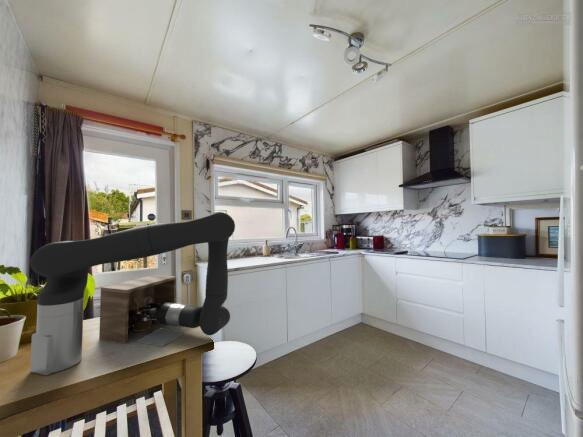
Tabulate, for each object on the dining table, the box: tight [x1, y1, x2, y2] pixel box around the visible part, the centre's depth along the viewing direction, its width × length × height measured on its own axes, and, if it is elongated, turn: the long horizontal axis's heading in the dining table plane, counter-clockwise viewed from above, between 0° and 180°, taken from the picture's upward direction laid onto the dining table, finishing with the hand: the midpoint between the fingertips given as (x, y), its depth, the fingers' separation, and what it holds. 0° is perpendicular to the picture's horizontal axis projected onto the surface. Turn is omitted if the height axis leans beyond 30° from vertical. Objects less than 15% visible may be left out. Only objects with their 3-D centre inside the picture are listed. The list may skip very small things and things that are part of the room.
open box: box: [98, 274, 177, 345], centre depth 90 cm, size 22×11×17 cm, turn 164°
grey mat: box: [137, 327, 186, 347], centre depth 82 cm, size 10×10×1 cm
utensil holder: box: [132, 296, 153, 332], centre depth 90 cm, size 6×6×12 cm
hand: (138, 309), depth 91 cm, fingers open, 8 cm apart
